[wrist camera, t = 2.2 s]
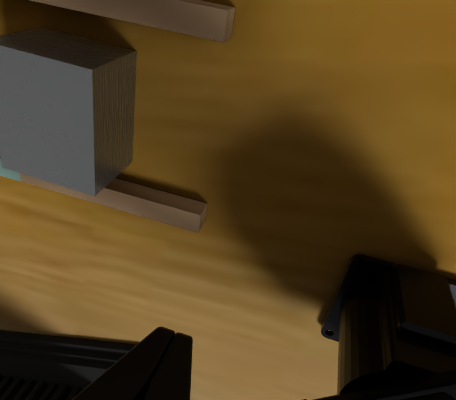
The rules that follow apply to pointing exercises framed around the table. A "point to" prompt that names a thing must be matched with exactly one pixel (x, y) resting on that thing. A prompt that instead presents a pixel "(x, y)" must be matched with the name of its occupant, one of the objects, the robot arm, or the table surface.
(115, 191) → the brown u-shaped frame
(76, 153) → the block
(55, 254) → the table surface
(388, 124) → the table surface
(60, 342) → the award
